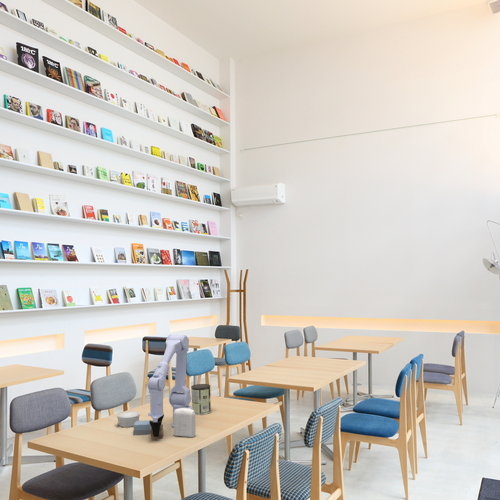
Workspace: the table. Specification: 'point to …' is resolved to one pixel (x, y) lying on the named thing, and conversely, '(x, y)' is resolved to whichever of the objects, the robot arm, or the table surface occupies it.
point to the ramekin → (128, 418)
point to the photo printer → (184, 422)
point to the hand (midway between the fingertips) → (157, 434)
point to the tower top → (142, 425)
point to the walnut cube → (159, 433)
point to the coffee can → (201, 399)
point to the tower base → (142, 432)
